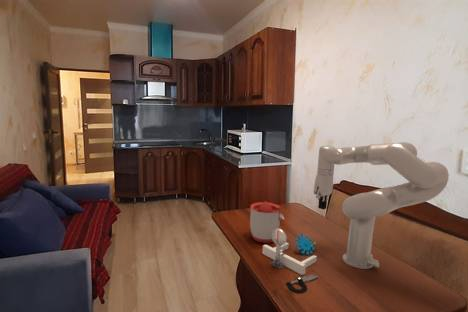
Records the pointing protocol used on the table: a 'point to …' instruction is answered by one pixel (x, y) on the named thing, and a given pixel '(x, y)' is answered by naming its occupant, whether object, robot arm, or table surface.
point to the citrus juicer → (264, 220)
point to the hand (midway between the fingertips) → (322, 208)
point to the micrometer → (301, 283)
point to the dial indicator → (278, 246)
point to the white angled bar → (289, 259)
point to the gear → (305, 244)
